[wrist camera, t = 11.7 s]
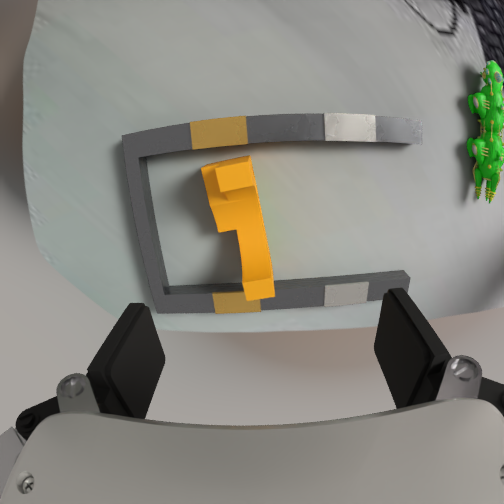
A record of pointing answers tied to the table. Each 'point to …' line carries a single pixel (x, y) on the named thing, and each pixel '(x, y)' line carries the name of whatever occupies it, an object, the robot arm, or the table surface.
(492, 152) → the crocodile figurine
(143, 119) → the table surface
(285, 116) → the rail frame
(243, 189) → the pipe clamp
